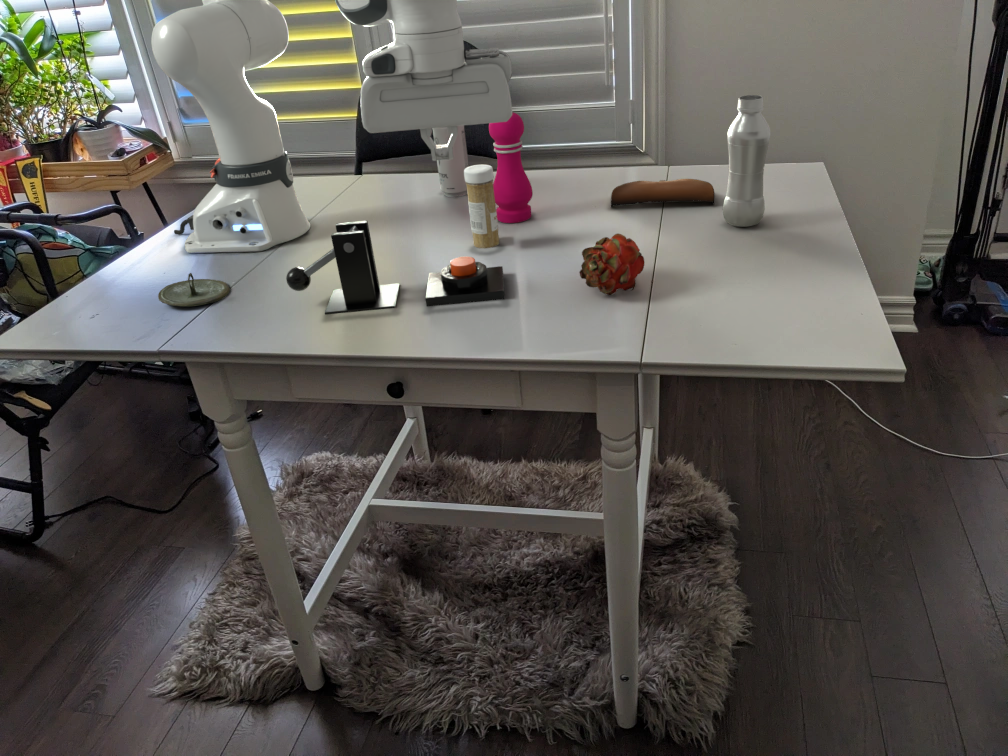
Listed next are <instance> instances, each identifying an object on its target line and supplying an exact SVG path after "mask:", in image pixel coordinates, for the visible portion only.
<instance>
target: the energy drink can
mask: <svg viewBox="0 0 1008 756" xmlns="http://www.w3.org/2000/svg"><path fill="white" fill-rule="evenodd" d="M458 128H459V132H458V136H457V138H456V140H455V143H454V145H453V159H451V160H438V161H436V165H437V172H438V180H439V187H440V188H439V189H440V191H441V192H442V193H443V195H444V196H445V197H449V198H456V197H462V196H465V195H468V192H467V185H466V182H465V177H464V170H465V169H466V168H467V167H470V166H469V158H468V149H467V141H466V132H465V125H462V126H458ZM432 135H433V141H434V143H435V144H436V145H444V144H448V142H449V139H450V137H451V135H452V134H451V135H449V134H448V129H447V127H439V128H432Z"/></svg>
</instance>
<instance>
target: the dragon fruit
mask: <svg viewBox="0 0 1008 756" xmlns="http://www.w3.org/2000/svg"><path fill="white" fill-rule="evenodd" d="M581 256H582V258H583V262H582V264H581V266H580V267H581V269H580V270H579V272H578V273H579V276H580V278H581V280H585V284H586V286H587V287H589V288H596V289H597V288H598V289H597V290H599V292H600V293H602V294H605V295H607V296H612V295H614V294H616V293H617V291H618V290H622V291H624V292H625V291H629V290H630V292H632V291H633V290H635V288H636V286H637V283H636V279H637V277H638V275H640V274H641V273H642V272H643V271H644V268H645V258H644V255H642V252H640V248H639V246H638V244H637V243H636V242H635V241H634V239H632V238H630V237H629V238H627V237H626V235H624V234H621V233H615V234H613V236H611V238H610V237H607V236H605V237H602V238H601V239H599V240H597V241H596V242H595V245H594V246H590V247H585V248H583V249H582V251H581Z"/></svg>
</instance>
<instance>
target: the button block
mask: <svg viewBox="0 0 1008 756" xmlns="http://www.w3.org/2000/svg"><path fill="white" fill-rule="evenodd" d="M475 263H476V272H475V273H473V274H470V275H466V276H455V275H452V274H451V267H450V264H447V265H446V266H444V267H443V268H442V269H441V270H440V271H437V272H429V273H428V276H427V277H428V278H427V284H426V292H425V299H424V300H425V305H426V307H427V308H429V307H438V306H448V305H459V304H460V305H461V304H470V303H478V302H479V303H480V302H490V301H501V300H505V281H504V269H503V268H504V267H503V266H489V267H487V265H486V264H484V263H483V262H480V261H475Z"/></svg>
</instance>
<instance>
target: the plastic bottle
mask: <svg viewBox="0 0 1008 756" xmlns="http://www.w3.org/2000/svg"><path fill="white" fill-rule="evenodd" d="M764 107H765V106H764V96H763V95H761V94H745V95H740V96H739V97H738V99H737V107H736V111H737V112H738V114H737V116H736V117H735V118H734V119H733V121H732V122H731V124H730V126H729V127H728V130H727V132H726V134H727V139H726V140H727V150H728V167H729V168H728V177H727V186H726V193H725V196H724V199H723V205H722V214H723V219H724V220H725V222H726V223H727V224H728V225H731V226H735V227H741V228H742V227H743V228H744V227H753V226H756V225H758V224H759V223H760V222H761V221H762V220H763V217H764V214H765V210H766V207H765V196H764V172H765V167H766V166H765V164H766V158H767V152H768V149H769V145H770V140H771V135H772V134H771V133H772V132H771V127H770V125H769V122H767V120H766V118H765V117H764V115H763V114H762V111H764Z"/></svg>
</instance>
